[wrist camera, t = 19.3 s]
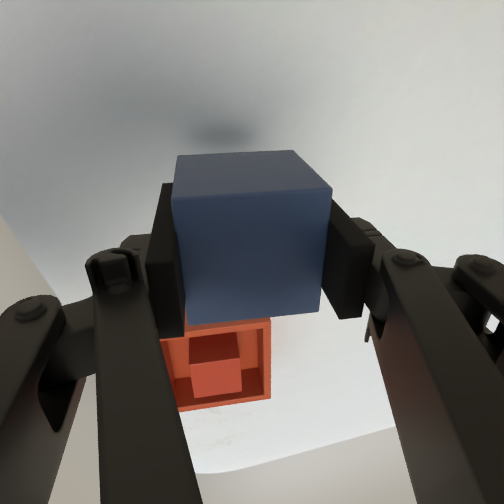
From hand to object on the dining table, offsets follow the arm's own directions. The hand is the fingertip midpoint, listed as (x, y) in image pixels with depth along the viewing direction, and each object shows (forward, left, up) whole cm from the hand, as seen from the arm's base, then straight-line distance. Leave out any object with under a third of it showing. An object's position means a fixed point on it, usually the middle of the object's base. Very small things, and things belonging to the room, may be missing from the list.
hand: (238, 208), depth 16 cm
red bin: (+22, -2, -15) cm, 27 cm away
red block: (+22, -2, -14) cm, 27 cm away
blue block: (0, 0, 0) cm, 0 cm away
